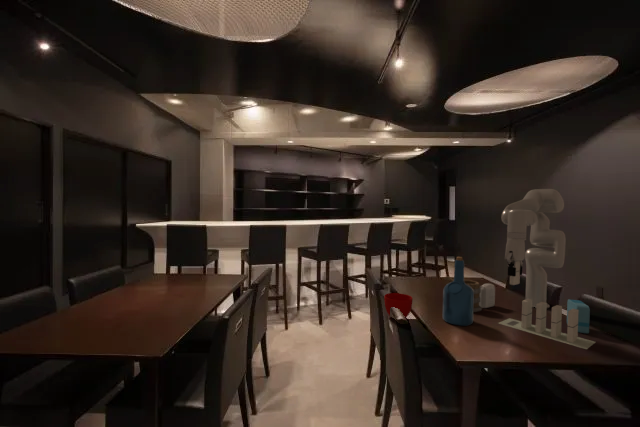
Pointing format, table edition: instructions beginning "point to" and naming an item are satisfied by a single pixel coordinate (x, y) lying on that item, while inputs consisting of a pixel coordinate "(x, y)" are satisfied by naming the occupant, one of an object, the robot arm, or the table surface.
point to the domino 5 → (572, 325)
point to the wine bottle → (458, 298)
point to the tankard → (476, 292)
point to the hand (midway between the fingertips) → (514, 274)
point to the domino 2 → (526, 313)
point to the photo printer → (487, 296)
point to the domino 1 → (516, 279)
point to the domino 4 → (556, 321)
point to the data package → (580, 314)
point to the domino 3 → (541, 317)
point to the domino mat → (548, 334)
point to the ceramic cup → (398, 302)
